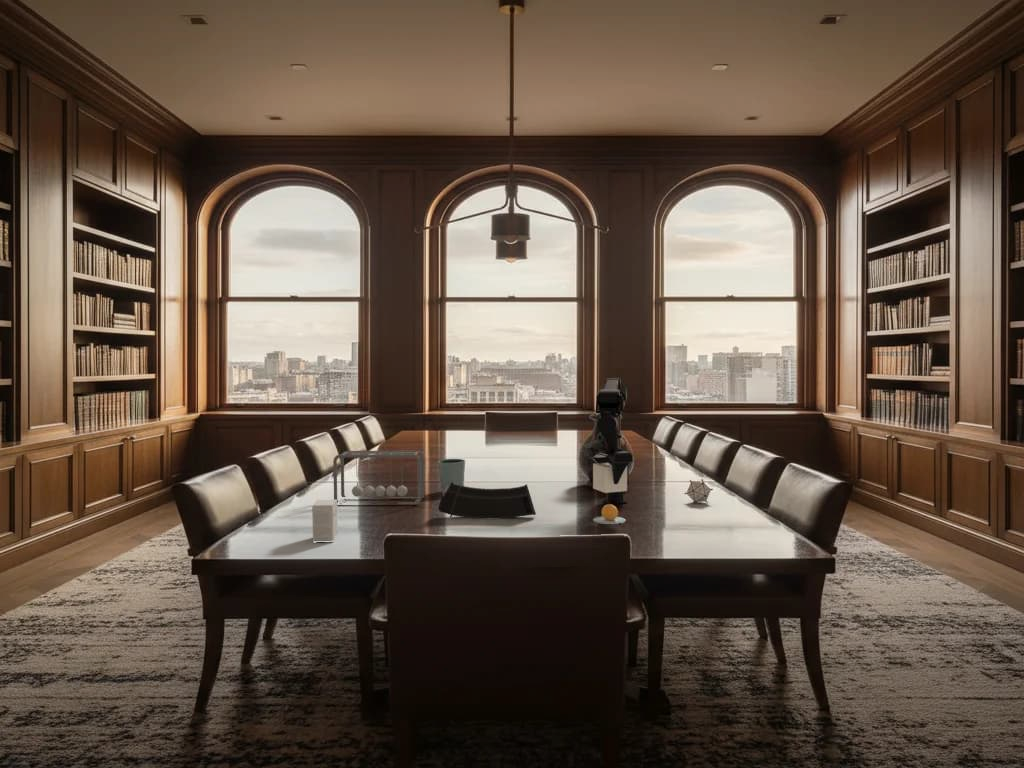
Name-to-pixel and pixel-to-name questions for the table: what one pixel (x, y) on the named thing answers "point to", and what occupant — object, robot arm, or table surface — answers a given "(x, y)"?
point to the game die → (698, 491)
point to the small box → (324, 520)
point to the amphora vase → (587, 462)
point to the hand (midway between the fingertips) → (609, 481)
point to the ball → (609, 512)
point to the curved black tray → (486, 502)
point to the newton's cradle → (380, 489)
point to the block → (607, 479)
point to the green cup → (451, 472)
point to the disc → (604, 521)
